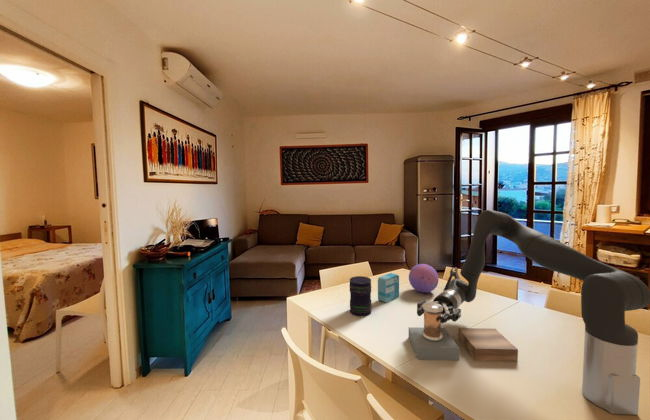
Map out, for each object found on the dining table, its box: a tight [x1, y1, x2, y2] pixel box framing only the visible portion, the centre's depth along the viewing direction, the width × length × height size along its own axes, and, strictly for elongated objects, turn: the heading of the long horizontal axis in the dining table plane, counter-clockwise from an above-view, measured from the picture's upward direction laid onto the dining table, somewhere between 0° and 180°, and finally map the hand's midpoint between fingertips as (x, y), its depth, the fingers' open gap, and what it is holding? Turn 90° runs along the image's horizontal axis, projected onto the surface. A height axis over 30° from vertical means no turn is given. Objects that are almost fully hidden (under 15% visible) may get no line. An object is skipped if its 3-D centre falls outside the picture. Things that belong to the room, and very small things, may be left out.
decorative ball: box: [408, 263, 439, 294], centre depth 146 cm, size 15×15×15 cm
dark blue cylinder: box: [349, 275, 372, 318], centre depth 124 cm, size 10×10×15 cm
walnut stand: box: [457, 327, 519, 362], centre depth 93 cm, size 13×13×4 cm
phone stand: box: [443, 266, 461, 291], centre depth 148 cm, size 9×6×12 cm, turn 57°
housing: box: [422, 301, 443, 342], centre depth 94 cm, size 7×7×11 cm
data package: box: [377, 272, 400, 304], centre depth 138 cm, size 12×4×12 cm, turn 131°
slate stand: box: [408, 326, 460, 361], centre depth 95 cm, size 13×13×4 cm
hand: (429, 316), depth 92 cm, fingers open, 7 cm apart
